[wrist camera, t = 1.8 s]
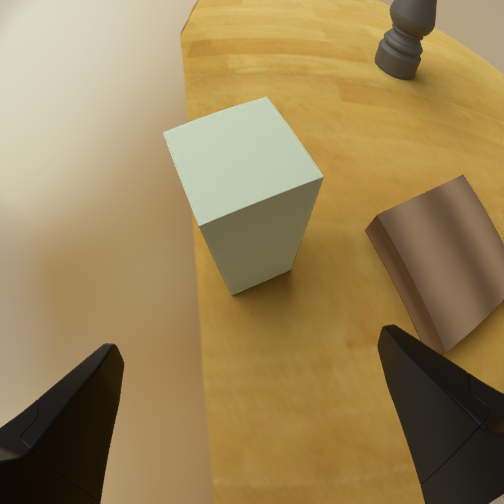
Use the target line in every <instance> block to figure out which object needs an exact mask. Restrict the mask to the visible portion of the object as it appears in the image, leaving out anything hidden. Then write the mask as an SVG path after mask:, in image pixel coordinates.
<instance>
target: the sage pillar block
mask: <svg viewBox="0 0 504 504" xmlns="http://www.w3.org/2000/svg"><path fill="white" fill-rule="evenodd" d="M163 134H164V137H165V139H166V142H167V145H168V148H169V150H170V153H171V155H172V158H173V161H174V164H175V166H176V169H177V172H178V174H179V177H180V179H181V182H182V185H183V187H184V190H185V192H186V195H187V198H188V200H189V203H190V205H191V208H192V210H193V213H194V215H195V218H196V220H197V223H198V225H199V228H200V230H201V232H202V234H203V236H204V239H205V241H206V243H207V245H208V247H209V249H210V252H211V254H212V256H213V258H214V260H215V262H216V264H217V267H218V269H219V271H220V273H221V275H222V277H223V279H224V281H225V283H226V285H227V288H228V290H229V292H230V294H231V296H233V295H235V294H237V293H239V292H242V291H244V290H246V289H249V288H251V287H253V286H256V285H258V284H260V283H262V282H265V281H267V280H269V279H271V278H274V277H276V276H278V275H280V274H283V273H285V272H287V271H289V270H291V268H292V265H293V262H294V260H295V257H296V254H297V252H298V249H299V246H300V243H301V241H302V238H303V235H304V232H305V229H306V227H307V224H308V221H309V218H310V215H311V212H312V210H313V207H314V204H315V201H316V198H317V195H318V192H319V189H320V186H321V183H322V180H323V175H322V173H321V172H320V170H319V169H318V167H317V166H316V164H315V163H314V161H313V160H312V158H311V157H310V155H309V154H308V153H307V151H306V150H305V148H304V147H303V145H302V144H301V142H300V141H299V140H298V138H297V137H296V135H295V134H294V133H293V131H292V130H291V128H290V127H289V126H288V124H287V123H286V121H285V120H284V119H283V117H282V116H281V115H280V113H279V112H278V111H277V109H276V108H275V107H274V105H273V104H272V103H271V101H270V100H269V99H268V98H267V97H264V98H261V99H257V100H254V101H251V102H247V103H244V104H241V105H237V106H234V107H231V108H228V109H225V110H222V111H219V112H216V113H213V114H210V115H207V116H205V117H202V118H199V119H196V120H194V121H191V122H188V123H186V124H183V125H181V126H178V127H175V128H173V129H170V130H168V131H166V132H163Z"/></svg>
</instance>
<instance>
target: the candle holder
mask: <svg viewBox="0 0 504 504" xmlns="http://www.w3.org/2000/svg"><path fill="white" fill-rule="evenodd" d="M436 4H437V0H394V2H393V3H392V5H391V7H390V15H391V19H392V21H393V24H392V26H393V28H392V29H390V30H389V31H387V32H386V33H385V34H384V39H382V40H381V41H380V43H379V46H378V50H377V53H376V56H375V63H376V64H377V66H378V67H379V68H380V69H382V70H383V71H384V72H386V73H387V74H389V75H391V76H393V77H396V78H399V79H404V80H409V79H412V78H413V76H414V74H415V72H416V70H417V68H418V65H419V63H420V61H421V57H420V55H421V53H422V52H423V49H422V47H421V43H420V40H422V39H423V36H427V35H428V34H430V33H431V32H432V30H433V29H434V26H435V18H436Z"/></svg>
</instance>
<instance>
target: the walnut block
mask: <svg viewBox="0 0 504 504" xmlns="http://www.w3.org/2000/svg"><path fill="white" fill-rule="evenodd" d="M365 231H366V233H367V235H368V236H369V238H370V240H371V242H372V243H373V245H374V247H375V249H376V250H377V252H378V254H379V256H380V258H381V260H382V261H383V263H384V265H385V267H386V269H387V271H388V273H389V275H390V277H391V279H392V281H393V282H394V284H395V286H396V288H397V290H398V292H399V294H400V296H401V298H402V301H403V303H404V305H405V307H406V309H407V311H408V313H409V315H410V317H411V320H412V322H413V324H414V326H415V328H416V331H417V333H418V335H419V337H420V340H421V342H422V343H424V344H425V345H427V346H428V347H430V348H431V349H433V350H435V351H436V352H438V353H447V352H448V351H449V350H450V349H451V348H453V347H454V346H455V345H456V344H457V343H459V342H460V341H461V340H462V339H463V338H464V337H466V336H467V335H468V334H469V333H470V332H471V331H472V330H473V329H474V328H476V327H477V326H478V325H479V324H480V323H481V322H482V321H483V320H484V319H485V318H486V317H487V316H488V315H489V314H490V313H491V312H492V311H493V310H494V309H495V308H496V307H497V306H498V305H499V304H500V303H501V302H502V301H503V300H504V244H503V242H502V240H501V238H500V236H499V234H498V232H497V230H496V229H495V227H494V225H493V223H492V221H491V219H490V217H489V216H488V214H487V212H486V210H485V209H484V207H483V205H482V204H481V202H480V200H479V199H478V197H477V195H476V194H475V192H474V191H473V189H472V187H471V186H470V184H469V183H468V181H467V180H466V178H465V177H464V175H461V176H459V177H457V178H455V179H453V180H451V181H449V182H446V183H444V184H442V185H440V186H438V187H436V188H434V189H432V190H430V191H427V192H425V193H423V194H421V195H419V196H417V197H415V198H412V199H410V200H408V201H406V202H404V203H402V204H400V205H397V206H395V207H393V208H391V209H389V210H387V211H384V212H382V213H380V214H378V215H377V216H376V217H375V218H374V219H373V221H372V222H371V223H370V224H369V226H368V227H367V228H366V230H365Z"/></svg>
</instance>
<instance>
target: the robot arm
mask: <svg viewBox="0 0 504 504" xmlns="http://www.w3.org/2000/svg"><path fill="white" fill-rule="evenodd" d="M378 352H379V355H380V359H381V363H382V367H383V371H384V375H385V379H386V382H387V386H388V389H389V392H390V394H391V397H392V400H393V403H394V405H395V408H396V411H397V414H398V416H399V419H400V422H401V425H402V428H403V431H404V434H405V437H406V440H407V443H408V446H409V449H410V452H411V455H412V458H413V462H414V465H415V468H416V472H417V475H418V478H419V482H420V484H421V489H422V493H423V497H424V500H425V504H504V394H503V393H501V392H499V391H497V390H496V389H494V388H492V387H490V386H488V385H487V384H485V383H484V382H482V381H480V380H479V379H477V378H476V377H474V376H473V375H471V374H470V373H468V374H467V372H466V371H465V370H463V369H462V368H460V367H459V366H457V365H456V364H454V363H453V362H451V361H450V360H448V359H447V358H445V357H444V356H442V355H441V354H439V353H438V352H436V351H435V350H433V349H431V348H430V347H428V346H427V345H425V344H424V343H422V342H421V341H419V340H418V339H416V338H415V337H413V336H411V335H410V334H408V333H407V332H405V331H404V330H402V329H401V328H399V327H398V326H396V325H393V324H392V325H386V326H383V328H382V330H381V333H380V337H379V341H378ZM123 371H124V361H123V358H122V356H121V354H120V352H119V350H118V347H117V346H116V345H115V344H108V343H107V344H103V345H102V346H101V347H100V348H98V349H97V350H96V351H95V352H94V353H92V354H91V355H90V356H89V357H87V358H86V359H85V360H84V361H83V362H81V363H80V364H79V365H78V366H77V367H75V368H74V369H73V370H72V371H71V372H69V373H68V374H67V375H66V376H65V377H63V378H62V379H61V380H60V381H59V382H58V383H56V384H55V385H54V386H53V387H52V388H50V389H49V390H48V391H47V392H46V393H45V394H43V395H42V396H41V397H40V398H39V399H38V400H36V401H35V402H34V403H33V404H32V405H30V406H29V407H28V408H27V409H25V410H24V411H23V412H22V413H20V414H19V415H18V416H16V417H15V418H14V419H12V420H11V421H9V422H8V423H7V424H5V425H4V426H2V427H1V428H0V504H101V503H100V502H101V496H102V489H103V483H104V476H105V470H106V465H107V459H108V454H109V448H110V443H111V438H112V434H113V429H114V424H115V419H116V415H117V411H118V406H119V401H120V394H121V385H122V378H123Z"/></svg>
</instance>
